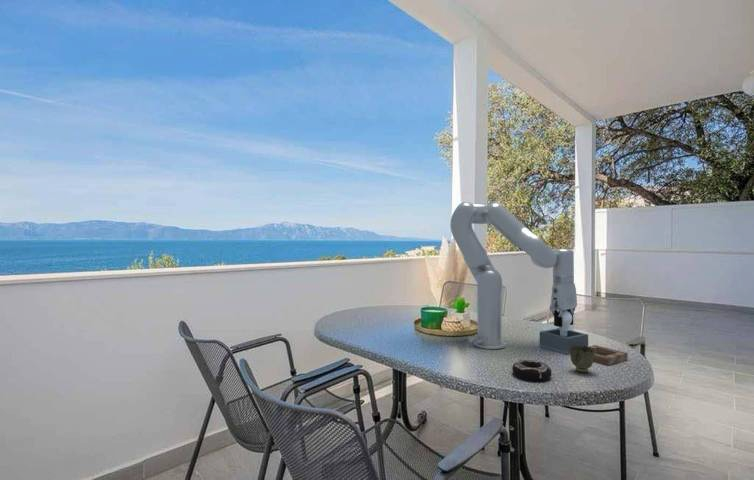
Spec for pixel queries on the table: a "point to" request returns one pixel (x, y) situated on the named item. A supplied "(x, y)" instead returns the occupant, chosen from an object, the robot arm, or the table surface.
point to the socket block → (608, 355)
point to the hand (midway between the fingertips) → (563, 324)
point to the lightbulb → (565, 322)
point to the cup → (582, 357)
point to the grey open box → (562, 340)
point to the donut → (531, 370)
